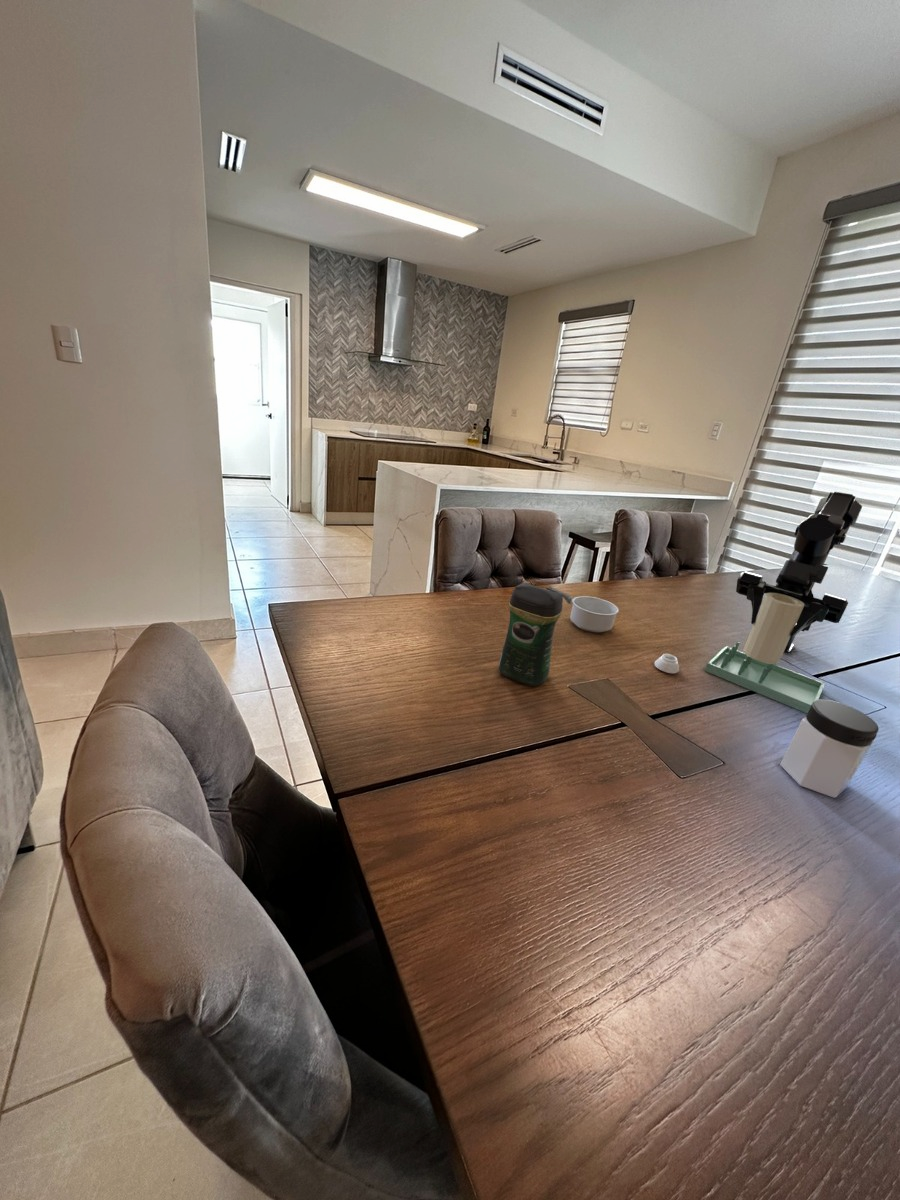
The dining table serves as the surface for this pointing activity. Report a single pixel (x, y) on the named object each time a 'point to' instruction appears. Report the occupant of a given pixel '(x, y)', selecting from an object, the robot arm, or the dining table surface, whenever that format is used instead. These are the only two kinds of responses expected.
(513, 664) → the coffee jar
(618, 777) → the dining table surface
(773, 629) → the beige cylindrical vase
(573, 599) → the saucepan
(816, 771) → the jar
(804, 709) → the dish rack
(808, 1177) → the dining table surface
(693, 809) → the dining table surface
